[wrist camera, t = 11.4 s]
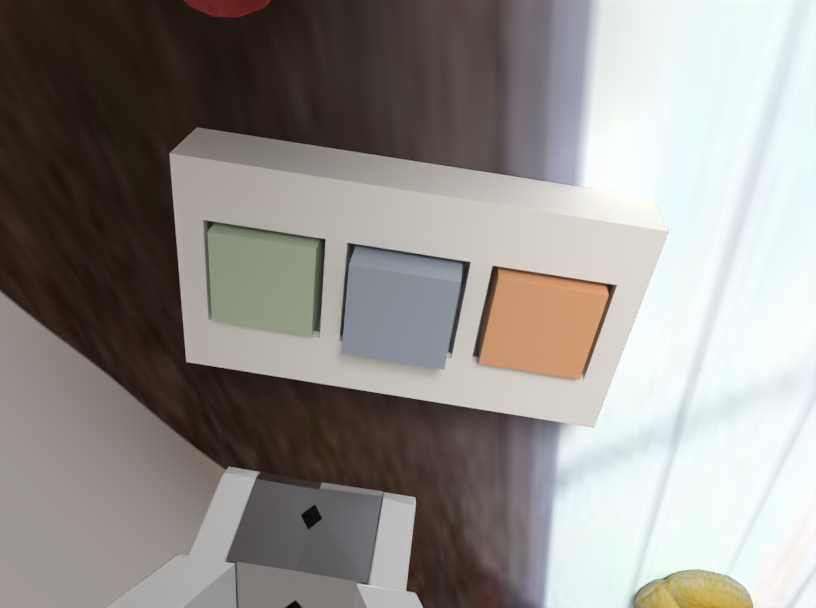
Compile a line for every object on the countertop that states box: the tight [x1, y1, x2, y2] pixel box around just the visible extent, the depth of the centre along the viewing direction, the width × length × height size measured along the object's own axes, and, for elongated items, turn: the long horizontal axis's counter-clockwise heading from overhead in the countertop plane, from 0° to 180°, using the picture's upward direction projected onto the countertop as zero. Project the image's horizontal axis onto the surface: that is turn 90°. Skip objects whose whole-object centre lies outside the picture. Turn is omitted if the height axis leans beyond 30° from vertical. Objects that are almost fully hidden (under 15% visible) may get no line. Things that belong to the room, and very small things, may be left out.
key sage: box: [207, 222, 326, 337], centre depth 40 cm, size 6×6×3 cm
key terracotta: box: [479, 266, 609, 379], centre depth 40 cm, size 6×6×3 cm
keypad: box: [169, 127, 669, 428], centre depth 41 cm, size 14×26×4 cm, turn 83°
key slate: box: [342, 244, 463, 370], centre depth 39 cm, size 6×6×3 cm
